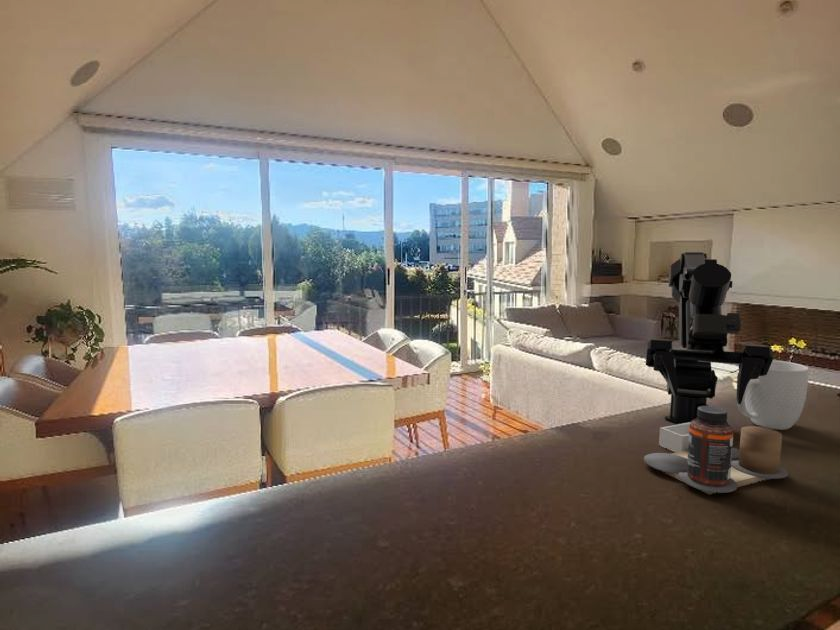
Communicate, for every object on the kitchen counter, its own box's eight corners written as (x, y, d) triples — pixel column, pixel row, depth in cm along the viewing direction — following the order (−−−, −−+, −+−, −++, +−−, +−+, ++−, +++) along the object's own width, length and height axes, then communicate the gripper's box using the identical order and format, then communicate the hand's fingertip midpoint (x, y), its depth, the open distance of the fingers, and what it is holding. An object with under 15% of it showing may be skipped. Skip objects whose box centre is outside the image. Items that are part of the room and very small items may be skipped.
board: (633, 463, 87) (635, 423, 86) (713, 446, 95) (716, 409, 94) (712, 503, 73) (715, 456, 73) (798, 479, 81) (803, 436, 80)
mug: (762, 438, 99) (767, 373, 97) (714, 420, 109) (718, 362, 108) (816, 430, 103) (822, 368, 102) (765, 414, 114) (770, 357, 112)
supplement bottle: (739, 484, 77) (745, 413, 75) (709, 490, 75) (715, 417, 73) (705, 468, 82) (710, 402, 81) (677, 474, 80) (682, 405, 79)
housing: (658, 445, 95) (659, 427, 95) (689, 439, 99) (690, 422, 98) (681, 455, 91) (682, 436, 90) (712, 448, 94) (713, 430, 94)
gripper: (649, 293, 89) (647, 368, 80) (776, 297, 81) (788, 380, 73) (646, 330, 97) (644, 401, 88) (761, 336, 90) (770, 415, 81)
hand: (707, 399), depth 82 cm, fingers open, 9 cm apart
